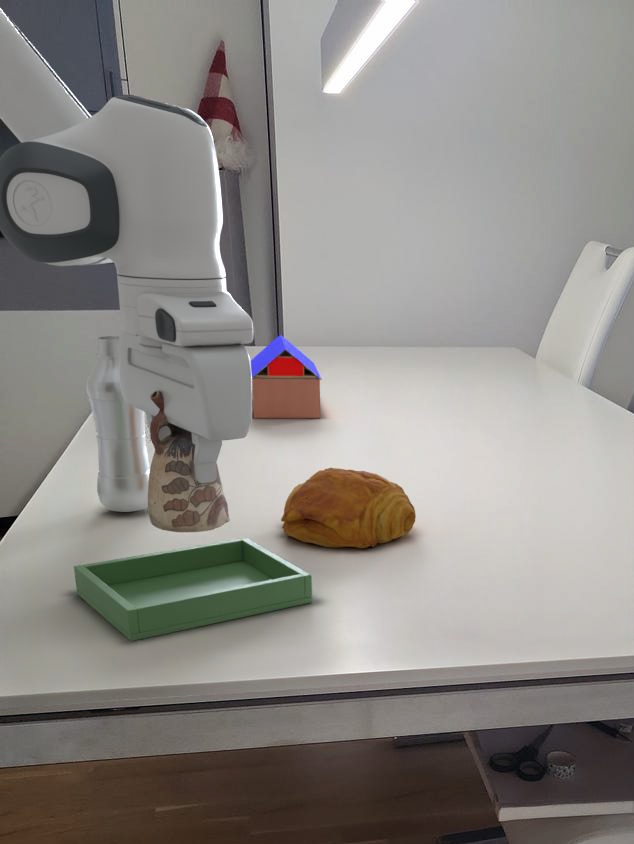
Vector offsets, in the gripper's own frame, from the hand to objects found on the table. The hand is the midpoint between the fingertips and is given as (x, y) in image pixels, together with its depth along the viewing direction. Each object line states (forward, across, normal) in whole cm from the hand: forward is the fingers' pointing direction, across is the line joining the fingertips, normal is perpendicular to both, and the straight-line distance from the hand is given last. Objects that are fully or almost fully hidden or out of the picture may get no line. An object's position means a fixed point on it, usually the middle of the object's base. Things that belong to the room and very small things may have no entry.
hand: (185, 471), depth 93 cm
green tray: (+12, 0, 0) cm, 12 cm away
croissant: (+12, -11, +23) cm, 28 cm away
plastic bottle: (+12, -32, +6) cm, 34 cm away
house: (+12, -82, +54) cm, 99 cm away
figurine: (+5, 0, 0) cm, 5 cm away
